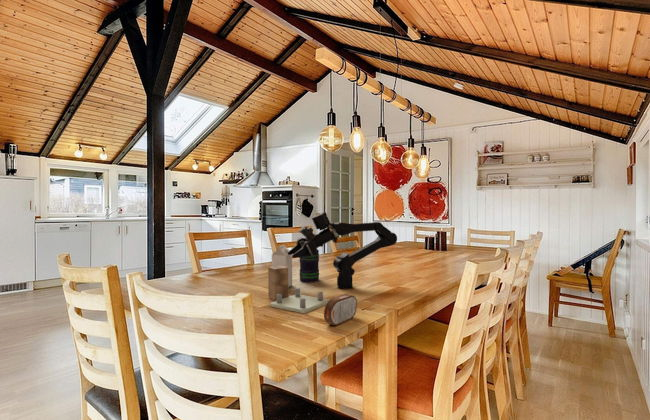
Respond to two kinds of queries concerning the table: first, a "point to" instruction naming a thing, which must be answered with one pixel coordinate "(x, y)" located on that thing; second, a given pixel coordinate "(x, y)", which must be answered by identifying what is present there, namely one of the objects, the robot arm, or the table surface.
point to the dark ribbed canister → (309, 268)
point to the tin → (340, 309)
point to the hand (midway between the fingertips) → (290, 255)
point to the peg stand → (299, 302)
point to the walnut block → (277, 282)
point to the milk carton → (283, 261)
